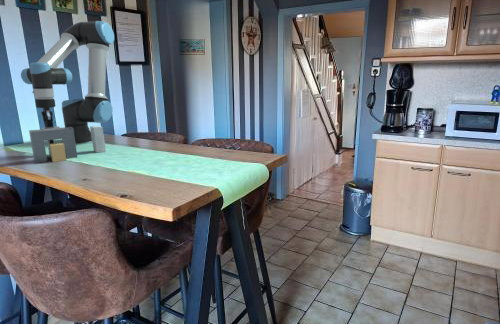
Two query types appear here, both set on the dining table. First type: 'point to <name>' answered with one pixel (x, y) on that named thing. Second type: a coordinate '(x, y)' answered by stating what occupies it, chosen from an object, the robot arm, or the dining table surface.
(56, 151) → the plug
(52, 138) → the housing
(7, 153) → the dining table surface
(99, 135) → the skincare box
